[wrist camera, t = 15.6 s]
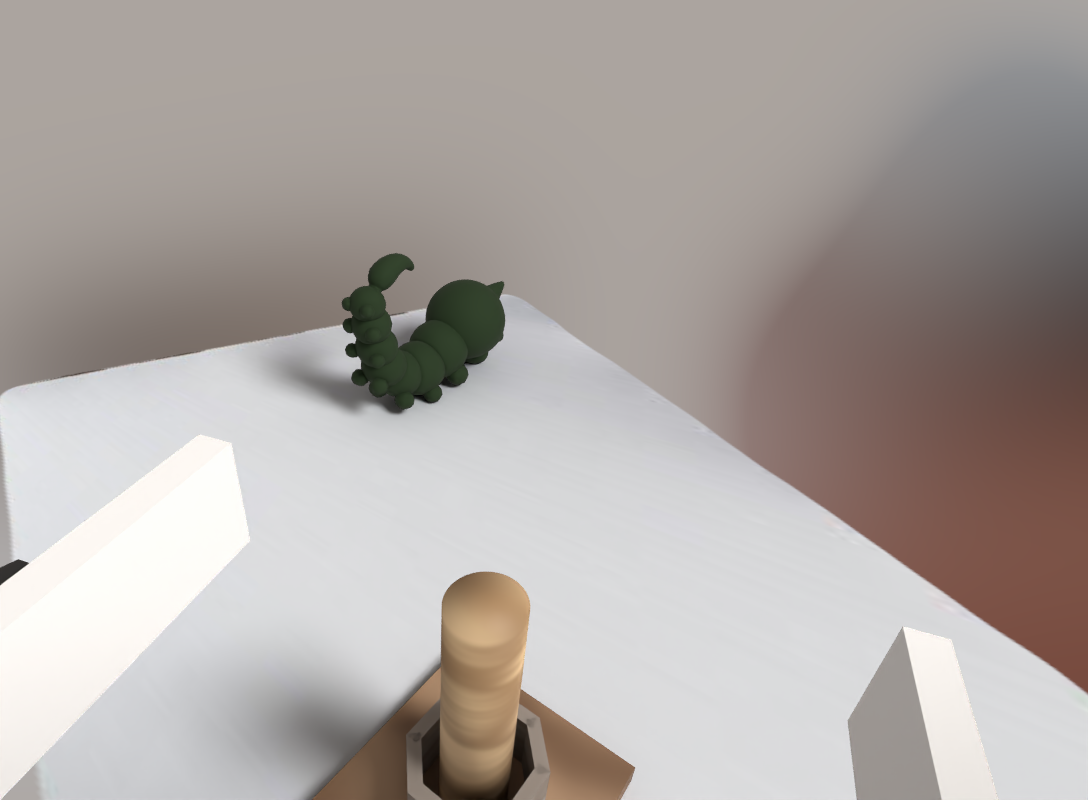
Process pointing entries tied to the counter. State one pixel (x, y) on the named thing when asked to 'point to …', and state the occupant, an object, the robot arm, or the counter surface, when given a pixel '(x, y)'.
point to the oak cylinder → (480, 684)
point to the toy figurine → (421, 334)
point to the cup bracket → (537, 764)
